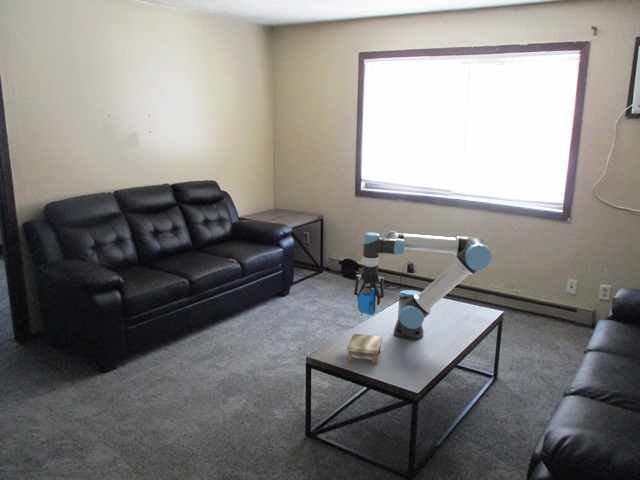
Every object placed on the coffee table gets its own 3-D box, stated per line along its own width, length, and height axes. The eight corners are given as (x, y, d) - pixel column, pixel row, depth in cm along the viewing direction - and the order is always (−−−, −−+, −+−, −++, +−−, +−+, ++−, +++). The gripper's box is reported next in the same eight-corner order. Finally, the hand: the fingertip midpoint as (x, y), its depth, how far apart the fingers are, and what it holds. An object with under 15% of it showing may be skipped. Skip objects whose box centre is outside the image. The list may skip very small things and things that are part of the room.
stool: (381, 351, 258) (382, 336, 256) (377, 366, 242) (378, 350, 241) (352, 347, 261) (353, 333, 259) (346, 362, 246) (347, 347, 244)
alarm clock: (368, 308, 271) (369, 280, 267) (379, 310, 268) (381, 282, 264) (356, 316, 260) (357, 287, 256) (368, 319, 257) (369, 289, 253)
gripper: (392, 264, 259) (389, 309, 265) (351, 260, 264) (350, 304, 270) (390, 268, 252) (387, 314, 258) (348, 264, 257) (346, 309, 262)
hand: (368, 309), depth 264 cm, fingers closed on alarm clock, 7 cm apart
